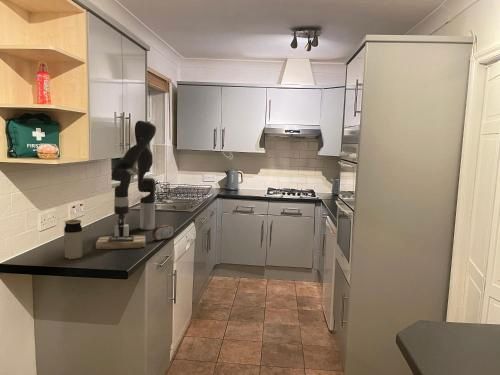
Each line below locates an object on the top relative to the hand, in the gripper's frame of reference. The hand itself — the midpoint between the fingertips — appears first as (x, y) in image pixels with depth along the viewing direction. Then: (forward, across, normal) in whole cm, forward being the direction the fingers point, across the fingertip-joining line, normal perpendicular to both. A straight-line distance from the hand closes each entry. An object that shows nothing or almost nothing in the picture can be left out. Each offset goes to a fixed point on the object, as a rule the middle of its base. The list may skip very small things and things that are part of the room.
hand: (121, 234), depth 217 cm
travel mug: (+6, +20, -21) cm, 30 cm away
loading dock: (+6, 0, 0) cm, 6 cm away
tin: (+6, -10, +23) cm, 26 cm away
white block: (+1, 0, 0) cm, 1 cm away
